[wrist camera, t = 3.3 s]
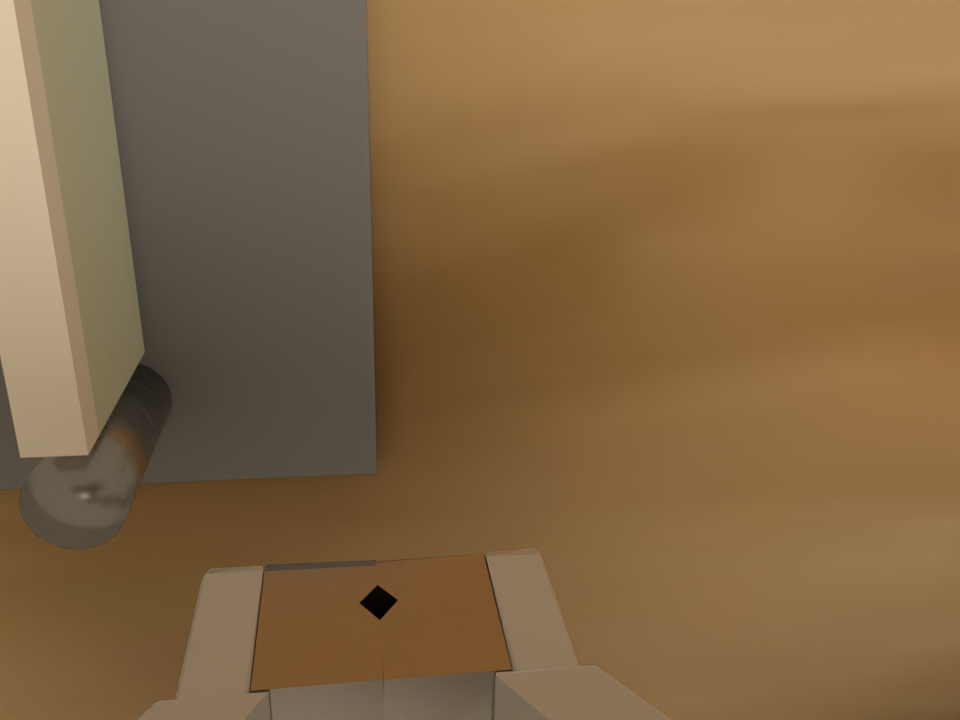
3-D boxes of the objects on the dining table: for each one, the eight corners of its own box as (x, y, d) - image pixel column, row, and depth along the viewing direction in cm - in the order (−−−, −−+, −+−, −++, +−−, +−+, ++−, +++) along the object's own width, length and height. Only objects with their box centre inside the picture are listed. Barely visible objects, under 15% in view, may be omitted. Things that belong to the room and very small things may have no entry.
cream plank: (11, -164, 17) (-113, -212, 13) (78, -161, 17) (-21, -207, 13) (91, 353, 21) (20, 457, 17) (144, 351, 21) (88, 454, 17)
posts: (180, 422, 23) (101, 627, 16) (99, 425, 23) (-18, 635, 16) (94, -310, 17) (-97, -514, 10) (-18, -317, 17) (-296, -531, 10)
